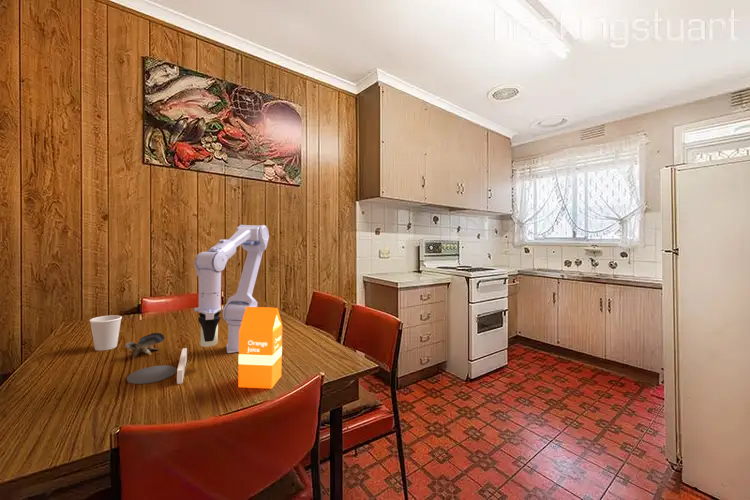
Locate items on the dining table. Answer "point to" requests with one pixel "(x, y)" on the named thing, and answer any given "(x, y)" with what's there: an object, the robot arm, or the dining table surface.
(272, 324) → the orange juice
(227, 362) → the dining table surface
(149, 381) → the rubber mat
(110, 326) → the dixie cup
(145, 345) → the eagle figurine
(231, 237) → the robot arm
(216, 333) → the sage cylinder
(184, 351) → the divider wall
